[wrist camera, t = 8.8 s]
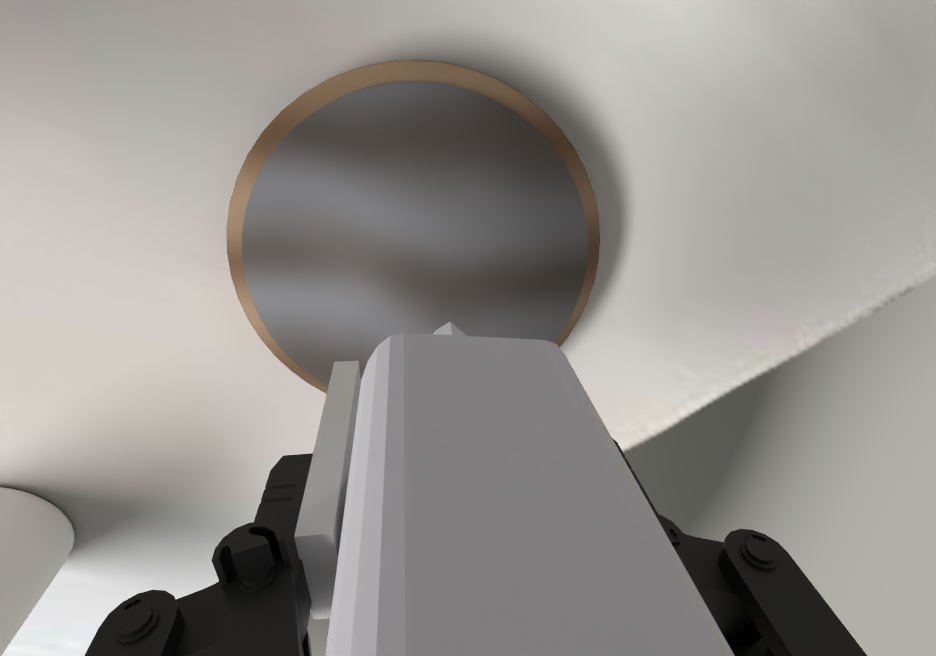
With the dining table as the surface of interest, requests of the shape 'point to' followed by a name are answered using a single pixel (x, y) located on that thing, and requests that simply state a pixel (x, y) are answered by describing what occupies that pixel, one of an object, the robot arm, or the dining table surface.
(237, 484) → the dining table surface
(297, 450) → the dining table surface
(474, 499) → the charger
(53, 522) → the pill bottle
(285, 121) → the round mirror
